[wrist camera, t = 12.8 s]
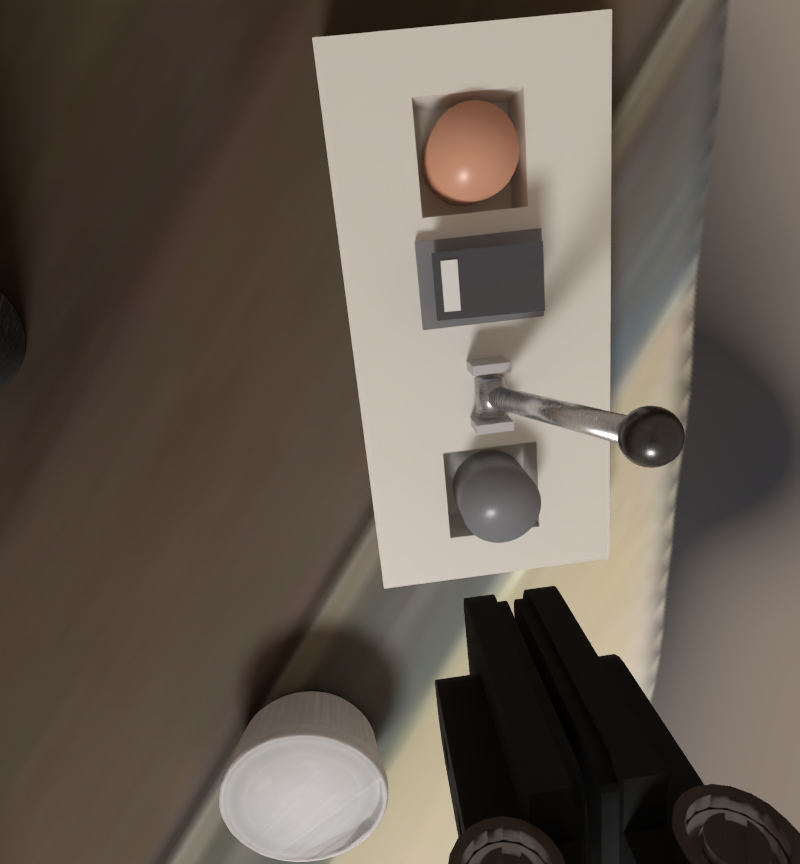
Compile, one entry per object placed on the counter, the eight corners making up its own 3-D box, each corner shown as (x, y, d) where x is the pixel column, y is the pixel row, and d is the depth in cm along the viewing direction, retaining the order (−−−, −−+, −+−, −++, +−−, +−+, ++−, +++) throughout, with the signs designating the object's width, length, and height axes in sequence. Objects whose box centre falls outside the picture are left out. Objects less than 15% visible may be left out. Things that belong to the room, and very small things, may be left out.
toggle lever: (461, 375, 31) (657, 420, 20) (497, 367, 32) (700, 405, 22) (465, 419, 31) (655, 482, 21) (499, 409, 32) (697, 465, 22)
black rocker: (432, 252, 29) (431, 253, 27) (539, 240, 28) (543, 240, 27) (438, 317, 29) (437, 320, 28) (541, 308, 29) (545, 310, 28)
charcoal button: (449, 454, 34) (458, 474, 31) (523, 445, 34) (540, 464, 31) (455, 521, 35) (464, 547, 32) (526, 513, 35) (542, 537, 32)
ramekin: (361, 807, 45) (361, 876, 40) (219, 782, 44) (201, 851, 39) (403, 693, 42) (410, 752, 37) (253, 662, 41) (239, 719, 36)
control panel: (317, 65, 30) (309, 22, 25) (580, 39, 31) (629, -8, 25) (381, 555, 39) (385, 605, 33) (584, 528, 39) (622, 573, 34)
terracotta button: (417, 120, 30) (424, 105, 27) (500, 111, 30) (517, 95, 27) (425, 210, 31) (432, 205, 28) (504, 201, 31) (520, 196, 28)
